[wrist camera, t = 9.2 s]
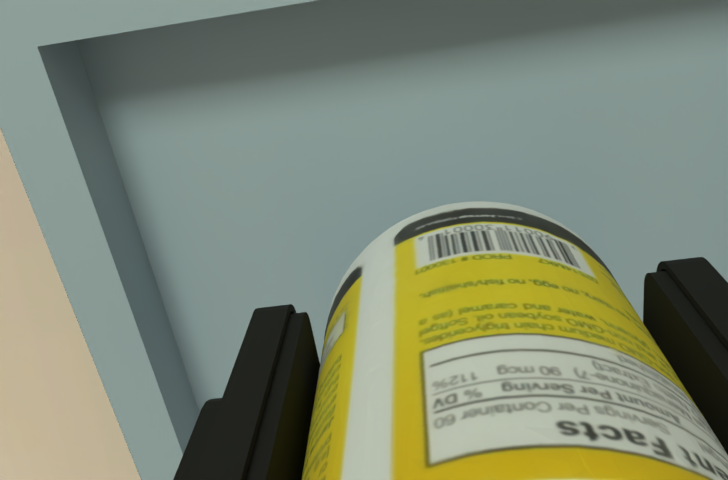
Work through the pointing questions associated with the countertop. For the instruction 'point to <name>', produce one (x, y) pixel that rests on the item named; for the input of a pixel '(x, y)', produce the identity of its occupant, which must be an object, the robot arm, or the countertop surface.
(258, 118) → the tray
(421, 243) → the supplement bottle
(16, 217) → the countertop surface
